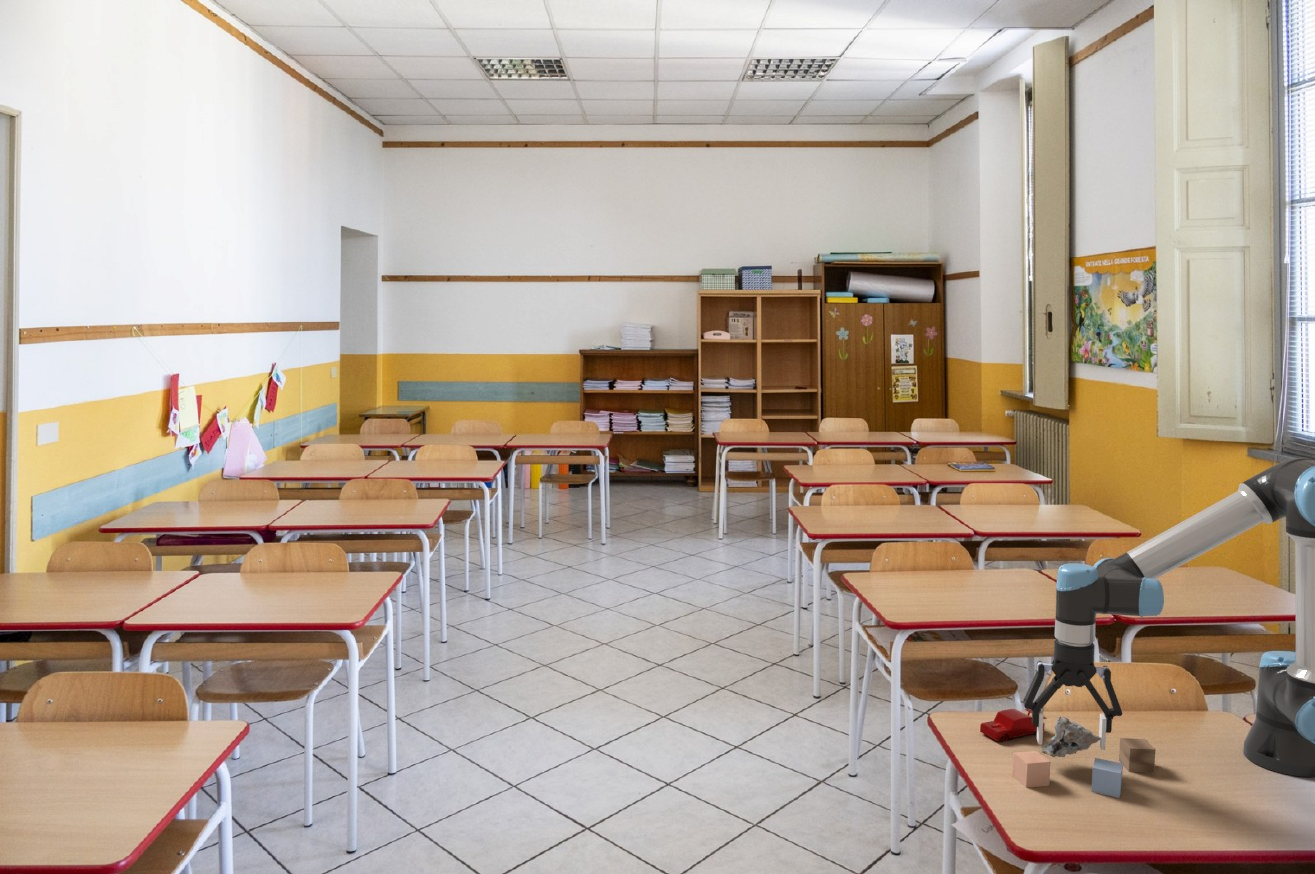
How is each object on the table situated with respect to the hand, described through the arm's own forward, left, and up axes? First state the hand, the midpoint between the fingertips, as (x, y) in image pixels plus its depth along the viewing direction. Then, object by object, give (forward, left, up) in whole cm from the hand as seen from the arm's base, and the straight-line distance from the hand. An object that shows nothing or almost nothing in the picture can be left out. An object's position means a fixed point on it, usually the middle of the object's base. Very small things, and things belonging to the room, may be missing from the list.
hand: (1070, 744), depth 199 cm
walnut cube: (-14, -4, -5) cm, 15 cm away
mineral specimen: (0, +1, -2) cm, 2 cm away
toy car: (+9, -14, -5) cm, 18 cm away
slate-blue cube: (-6, +9, -5) cm, 11 cm away
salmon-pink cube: (+8, +9, -5) cm, 13 cm away
